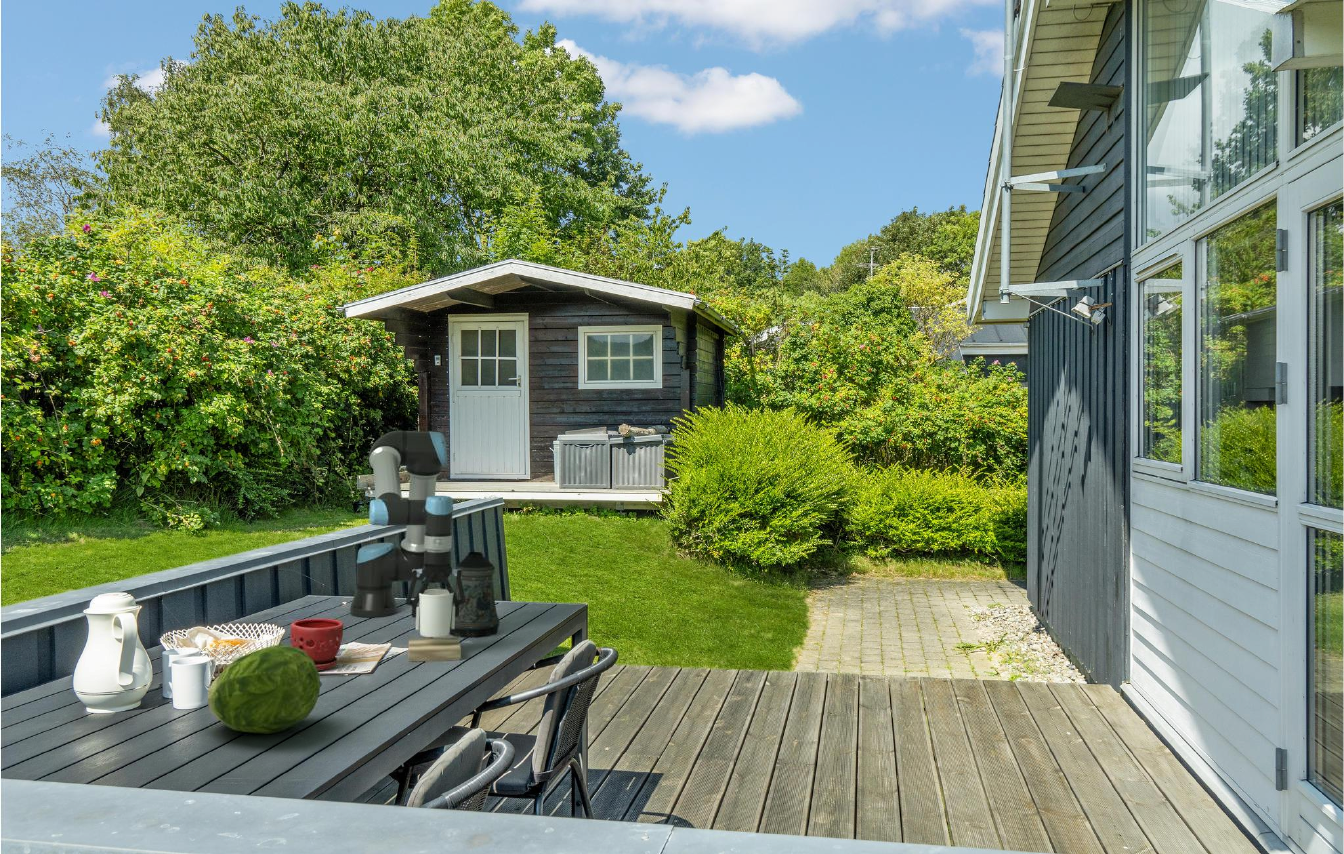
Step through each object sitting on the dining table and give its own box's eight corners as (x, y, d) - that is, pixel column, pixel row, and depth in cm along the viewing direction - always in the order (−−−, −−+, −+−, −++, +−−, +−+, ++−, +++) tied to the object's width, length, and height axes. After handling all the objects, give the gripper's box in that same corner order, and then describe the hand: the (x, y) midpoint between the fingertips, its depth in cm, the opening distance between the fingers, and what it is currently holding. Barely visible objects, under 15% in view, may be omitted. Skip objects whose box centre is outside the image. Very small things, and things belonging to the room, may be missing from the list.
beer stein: (469, 640, 278) (472, 559, 277) (429, 629, 289) (432, 551, 289) (510, 631, 291) (512, 554, 291) (469, 621, 303) (472, 546, 302)
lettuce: (250, 710, 209) (231, 636, 206) (343, 702, 205) (324, 627, 202) (196, 755, 191) (174, 675, 188) (296, 747, 187) (275, 665, 183)
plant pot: (324, 675, 237) (325, 629, 236) (278, 670, 239) (280, 625, 239) (351, 662, 249) (352, 619, 249) (308, 658, 252) (309, 615, 252)
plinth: (408, 649, 266) (408, 638, 266) (457, 647, 270) (457, 637, 270) (408, 661, 252) (409, 651, 252) (460, 659, 256) (460, 649, 256)
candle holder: (457, 630, 265) (458, 589, 265) (445, 638, 255) (447, 596, 255) (424, 628, 266) (426, 587, 266) (411, 636, 256) (413, 594, 256)
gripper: (397, 552, 254) (394, 632, 254) (477, 551, 260) (475, 630, 260) (397, 548, 261) (395, 626, 261) (475, 547, 267) (473, 624, 267)
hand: (434, 628), depth 261 cm, fingers closed on candle holder, 9 cm apart
